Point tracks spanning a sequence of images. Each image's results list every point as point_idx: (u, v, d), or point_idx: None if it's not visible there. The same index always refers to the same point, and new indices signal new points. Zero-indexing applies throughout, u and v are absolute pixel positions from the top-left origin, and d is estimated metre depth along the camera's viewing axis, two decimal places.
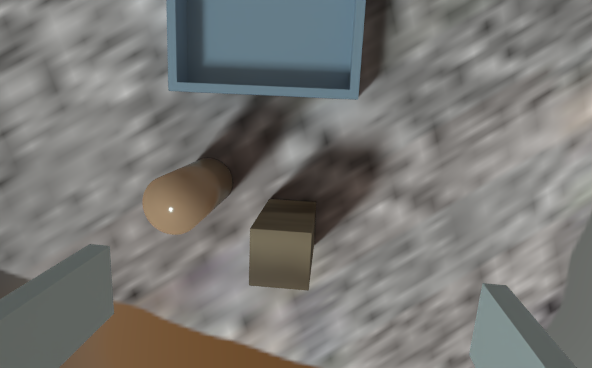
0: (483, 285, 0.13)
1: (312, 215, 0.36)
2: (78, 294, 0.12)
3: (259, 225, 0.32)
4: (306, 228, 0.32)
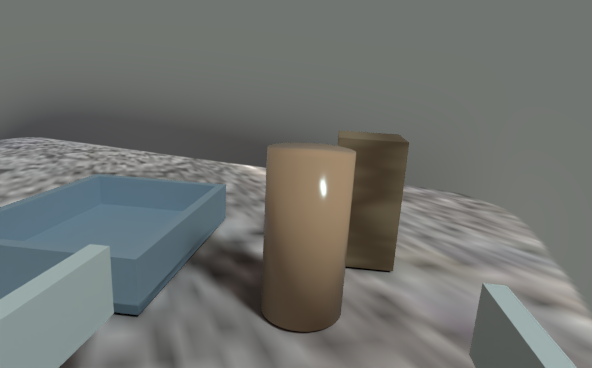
0: (483, 285, 0.13)
1: None
2: (78, 294, 0.12)
3: None
4: None
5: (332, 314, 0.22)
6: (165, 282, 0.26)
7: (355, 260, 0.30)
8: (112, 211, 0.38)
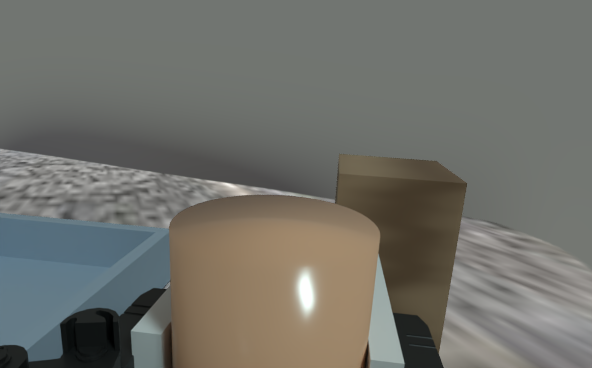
0: None
1: None
2: None
3: (337, 192, 0.16)
4: None
5: None
6: None
7: None
8: (1, 271, 0.25)
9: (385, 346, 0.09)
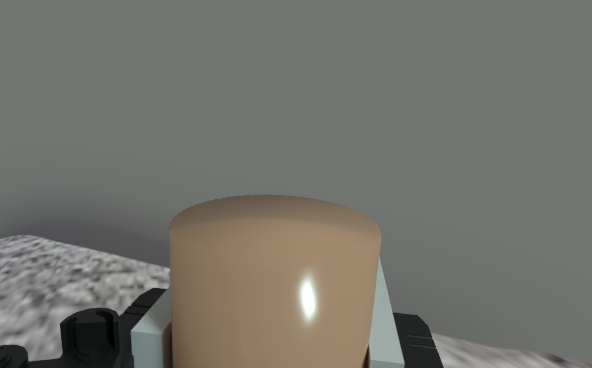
0: None
1: None
2: None
3: None
4: None
5: None
6: None
7: None
8: None
9: (385, 346, 0.09)
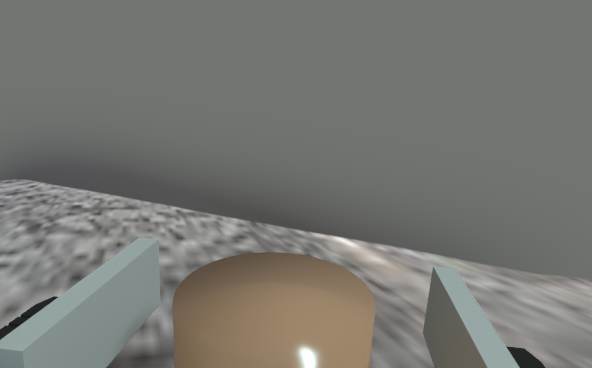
0: (433, 268, 0.14)
1: None
2: (134, 284, 0.13)
3: None
4: None
5: None
6: None
7: None
8: None
9: None
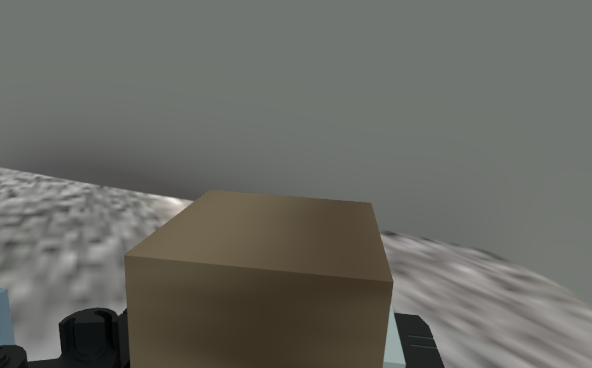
0: None
1: None
2: None
3: None
4: None
5: None
6: None
7: None
8: None
9: (386, 346, 0.09)
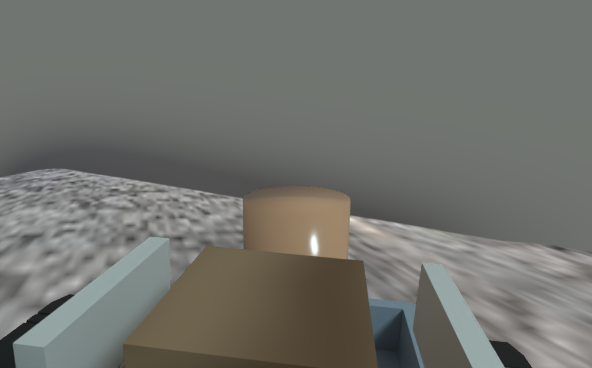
0: (422, 264, 0.14)
1: None
2: (147, 282, 0.13)
3: None
4: None
5: None
6: None
7: None
8: None
9: None
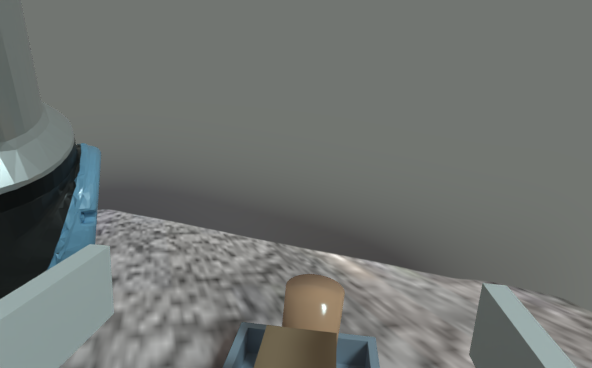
0: (483, 285, 0.13)
1: None
2: (78, 294, 0.12)
3: None
4: None
5: None
6: None
7: None
8: None
9: None
